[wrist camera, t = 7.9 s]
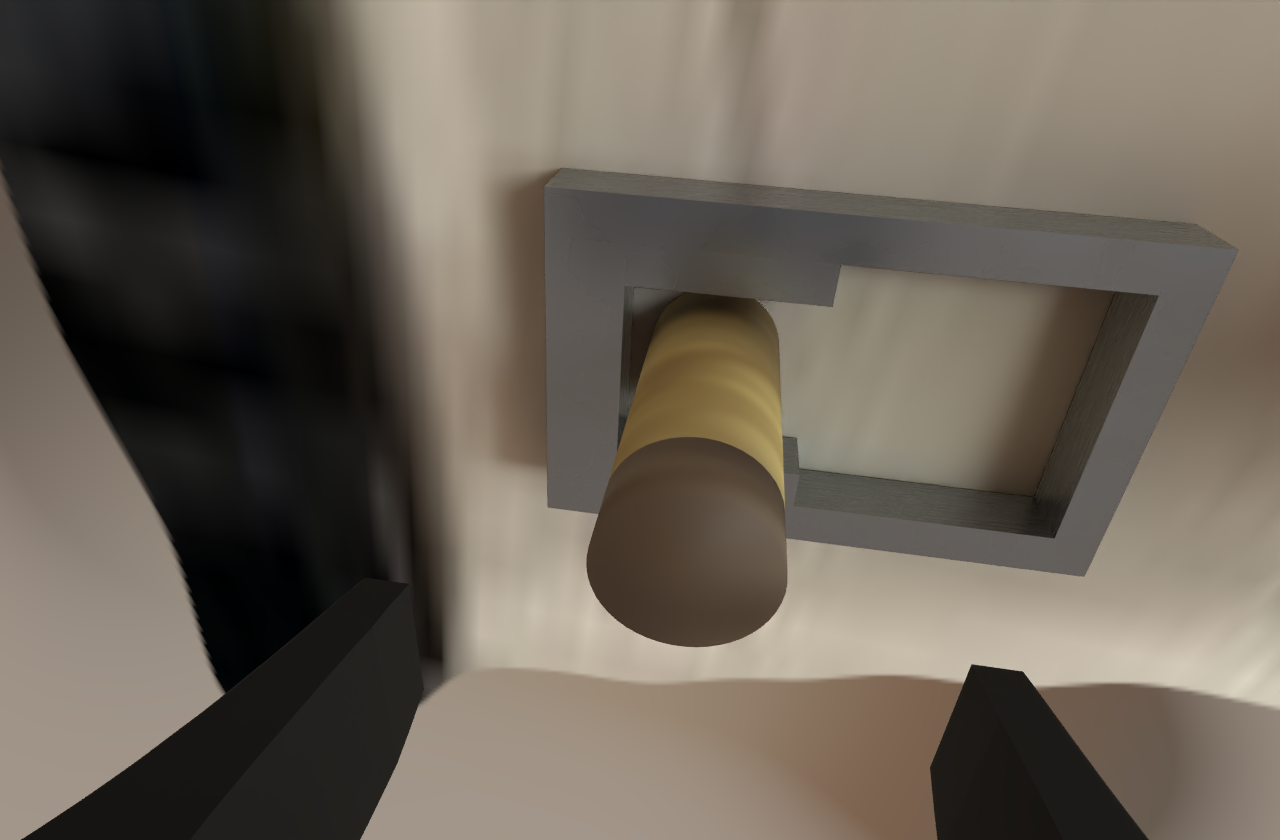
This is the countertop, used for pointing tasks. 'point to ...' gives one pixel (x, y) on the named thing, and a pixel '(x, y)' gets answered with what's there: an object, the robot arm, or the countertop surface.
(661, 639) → the peg
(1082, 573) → the keyhole plate
